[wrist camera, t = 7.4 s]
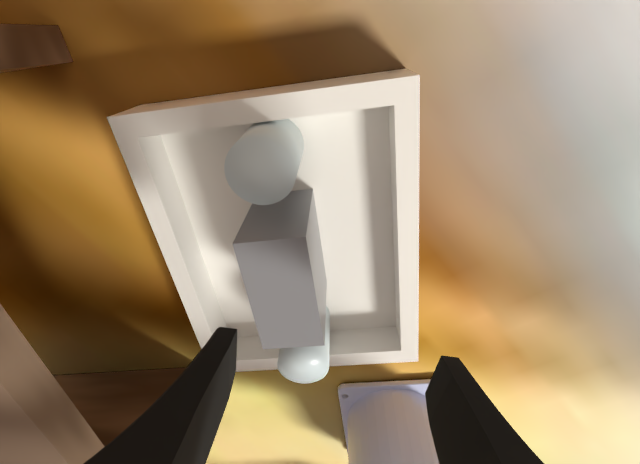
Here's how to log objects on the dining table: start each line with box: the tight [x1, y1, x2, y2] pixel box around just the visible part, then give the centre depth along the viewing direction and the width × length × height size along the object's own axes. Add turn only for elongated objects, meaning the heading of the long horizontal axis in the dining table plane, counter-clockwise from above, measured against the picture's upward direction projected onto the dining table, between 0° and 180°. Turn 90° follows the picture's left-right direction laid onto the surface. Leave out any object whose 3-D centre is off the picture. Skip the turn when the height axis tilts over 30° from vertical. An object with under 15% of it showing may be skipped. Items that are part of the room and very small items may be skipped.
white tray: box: [107, 69, 420, 383], centre depth 18 cm, size 16×13×6 cm
